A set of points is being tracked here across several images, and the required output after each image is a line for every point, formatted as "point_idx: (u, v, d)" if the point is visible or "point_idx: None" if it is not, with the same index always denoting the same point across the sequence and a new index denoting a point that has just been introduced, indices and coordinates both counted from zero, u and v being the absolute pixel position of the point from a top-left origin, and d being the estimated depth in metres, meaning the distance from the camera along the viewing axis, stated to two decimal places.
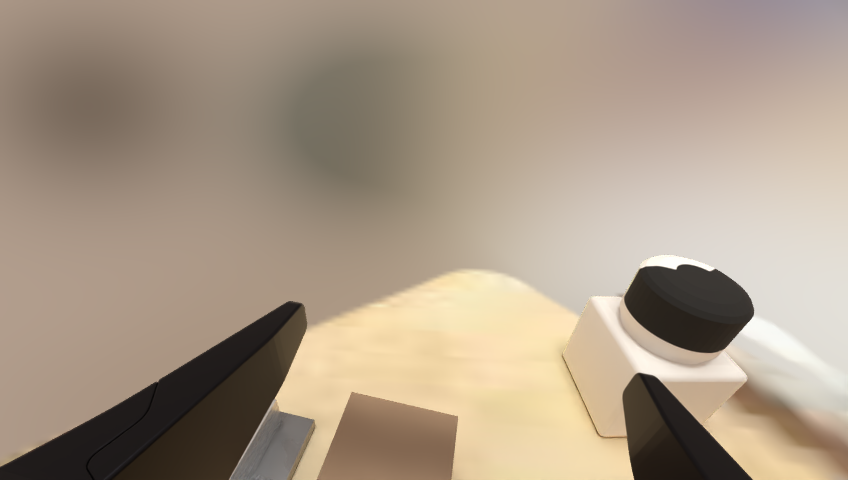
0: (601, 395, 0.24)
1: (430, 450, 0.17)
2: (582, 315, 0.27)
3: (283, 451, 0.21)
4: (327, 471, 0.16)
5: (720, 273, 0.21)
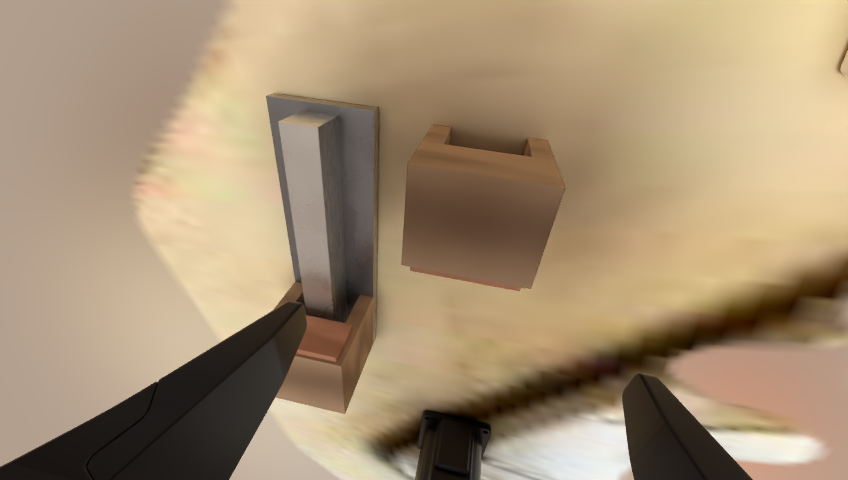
0: None
1: (520, 228, 0.14)
2: None
3: (358, 150, 0.19)
4: (409, 248, 0.16)
5: None
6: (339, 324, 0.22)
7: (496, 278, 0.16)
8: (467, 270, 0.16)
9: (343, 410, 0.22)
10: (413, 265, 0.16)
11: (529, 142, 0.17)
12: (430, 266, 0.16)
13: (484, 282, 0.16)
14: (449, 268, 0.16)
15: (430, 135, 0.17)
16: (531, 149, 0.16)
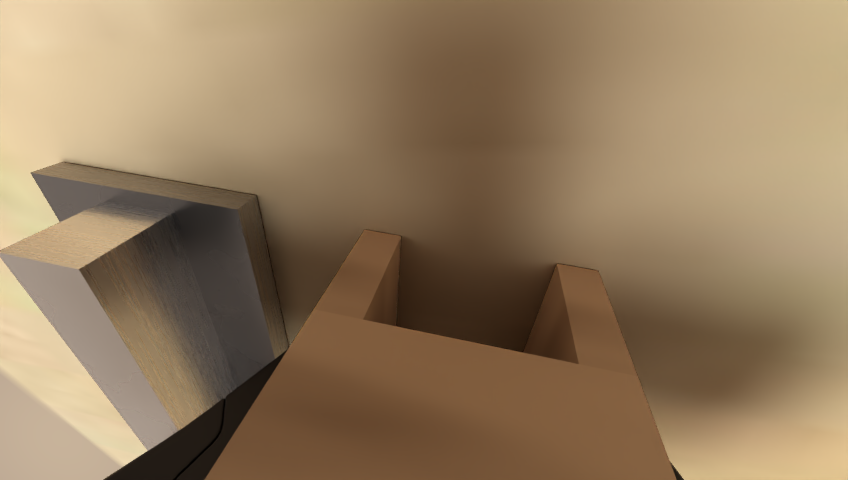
0: None
1: None
2: None
3: (225, 271, 0.10)
4: None
5: None
6: None
7: None
8: None
9: None
10: None
11: (562, 283, 0.08)
12: None
13: None
14: None
15: (345, 276, 0.08)
16: (571, 320, 0.07)
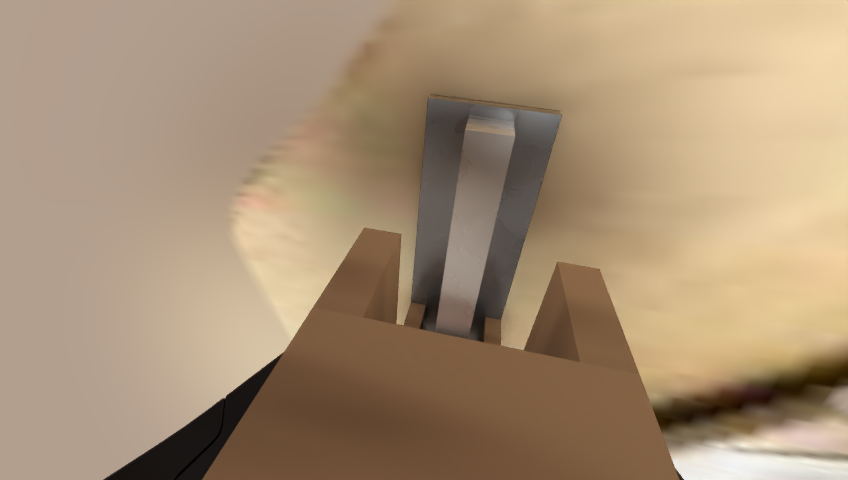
0: None
1: None
2: None
3: (528, 160, 0.16)
4: None
5: None
6: None
7: None
8: None
9: None
10: None
11: (563, 282, 0.08)
12: None
13: None
14: None
15: (344, 273, 0.07)
16: (572, 318, 0.07)
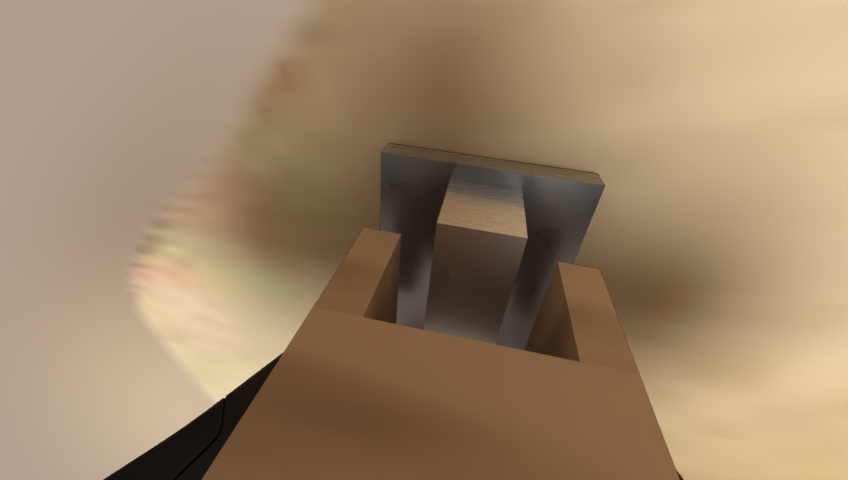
0: None
1: None
2: None
3: (545, 248, 0.10)
4: None
5: None
6: None
7: None
8: None
9: None
10: None
11: (563, 281, 0.08)
12: None
13: None
14: None
15: (344, 273, 0.07)
16: (572, 318, 0.07)
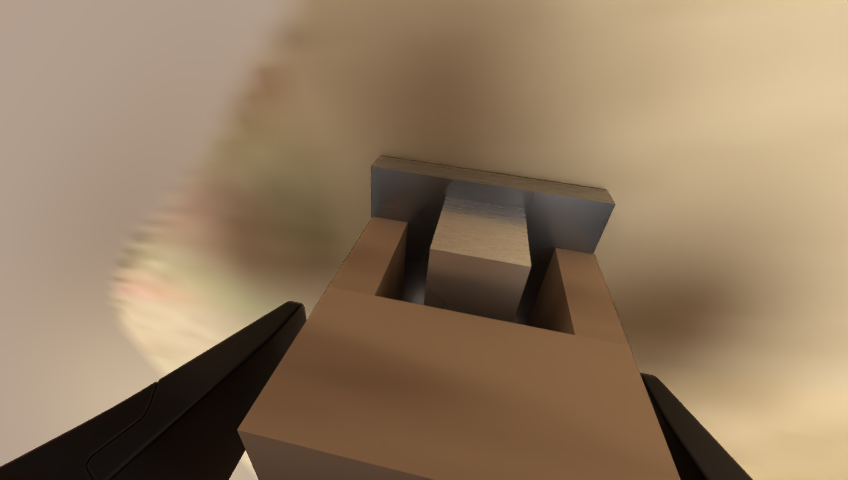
0: None
1: None
2: None
3: None
4: None
5: None
6: None
7: None
8: None
9: None
10: None
11: (560, 265, 0.08)
12: None
13: None
14: None
15: (356, 257, 0.08)
16: (568, 297, 0.07)
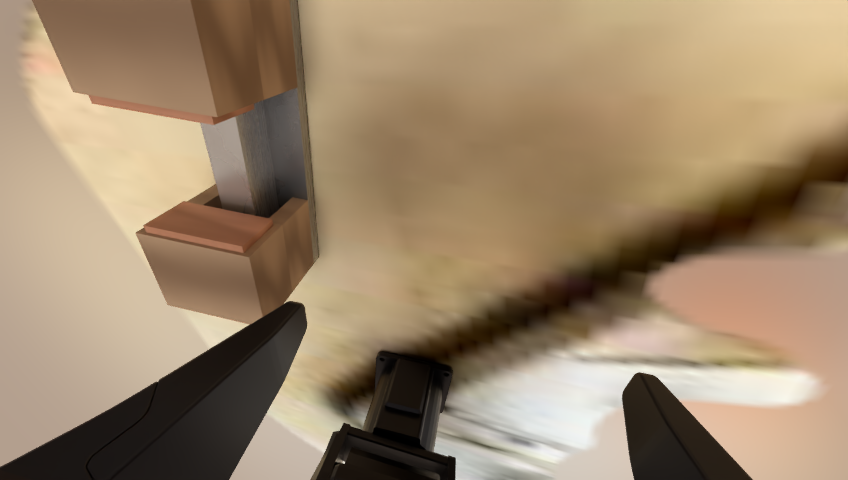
0: None
1: (161, 16, 0.11)
2: None
3: None
4: (67, 64, 0.13)
5: None
6: (257, 218, 0.18)
7: (175, 104, 0.13)
8: (141, 93, 0.13)
9: None
10: (85, 91, 0.13)
11: None
12: (102, 91, 0.13)
13: (173, 114, 0.13)
14: (122, 92, 0.13)
15: None
16: None
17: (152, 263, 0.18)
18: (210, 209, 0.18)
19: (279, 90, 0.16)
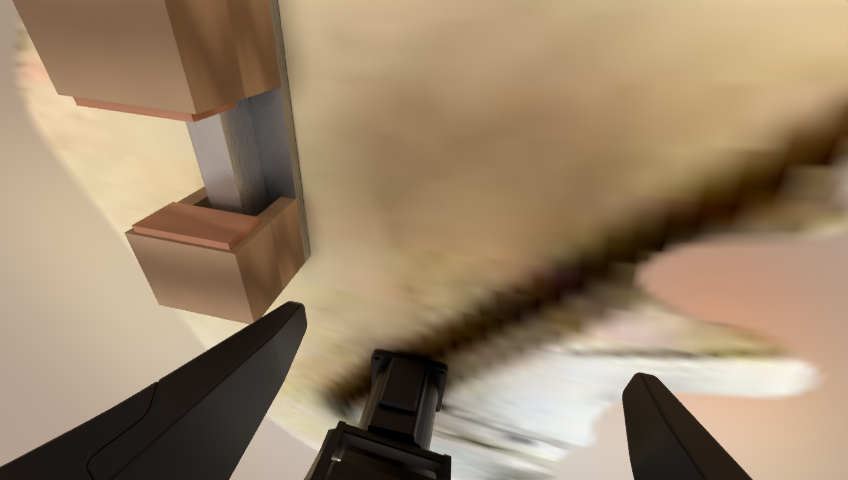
0: None
1: (137, 16, 0.11)
2: None
3: None
4: (51, 67, 0.13)
5: None
6: (244, 216, 0.19)
7: (155, 102, 0.13)
8: (122, 93, 0.13)
9: (252, 320, 0.19)
10: (69, 93, 0.13)
11: None
12: (85, 92, 0.13)
13: (154, 113, 0.13)
14: (104, 93, 0.13)
15: None
16: None
17: (142, 262, 0.18)
18: (198, 209, 0.19)
19: (261, 89, 0.16)
